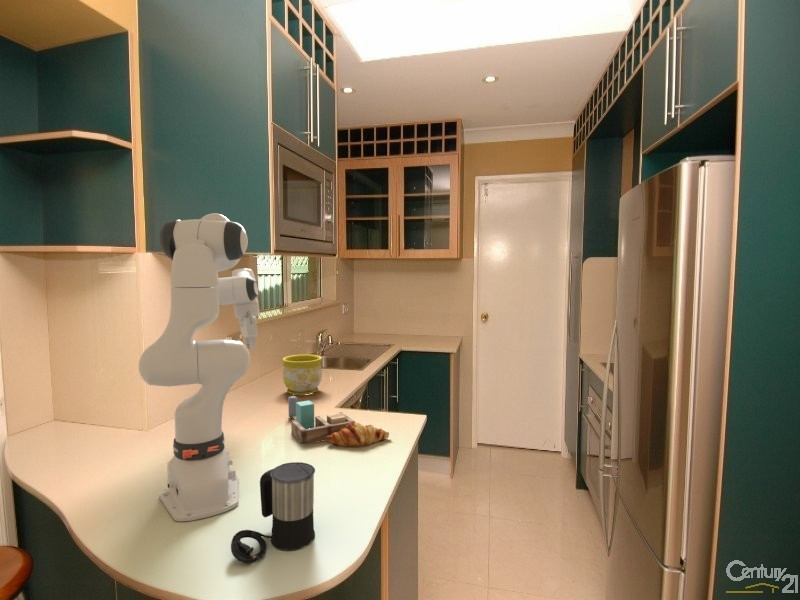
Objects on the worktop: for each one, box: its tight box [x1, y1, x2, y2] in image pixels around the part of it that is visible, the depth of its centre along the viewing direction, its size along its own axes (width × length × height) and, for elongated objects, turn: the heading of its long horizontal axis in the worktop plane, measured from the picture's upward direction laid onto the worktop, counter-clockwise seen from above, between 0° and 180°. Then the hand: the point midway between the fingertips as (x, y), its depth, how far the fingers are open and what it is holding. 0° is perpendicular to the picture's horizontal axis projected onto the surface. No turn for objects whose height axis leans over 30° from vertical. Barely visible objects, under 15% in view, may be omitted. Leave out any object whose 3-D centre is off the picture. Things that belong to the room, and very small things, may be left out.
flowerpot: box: [282, 354, 323, 396], centre depth 207 cm, size 18×18×16 cm
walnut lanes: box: [290, 411, 356, 445], centre depth 154 cm, size 12×19×4 cm, turn 121°
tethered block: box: [287, 395, 315, 429], centre depth 166 cm, size 17×5×9 cm, turn 33°
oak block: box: [326, 412, 345, 425], centre depth 156 cm, size 5×5×6 cm
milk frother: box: [230, 461, 316, 564], centre depth 91 cm, size 14×16×15 cm
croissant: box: [326, 422, 390, 448], centre depth 147 cm, size 21×10×8 cm, turn 107°
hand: (251, 349), depth 164 cm, fingers open, 8 cm apart
